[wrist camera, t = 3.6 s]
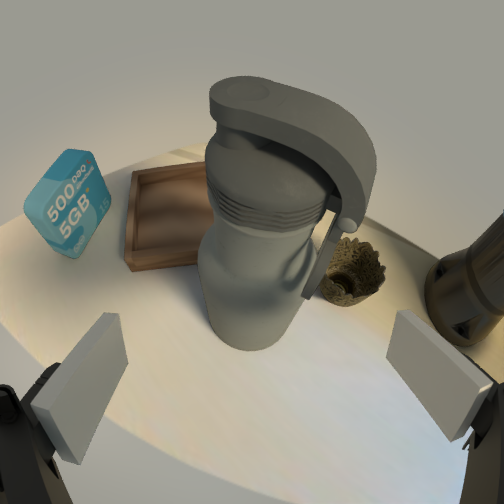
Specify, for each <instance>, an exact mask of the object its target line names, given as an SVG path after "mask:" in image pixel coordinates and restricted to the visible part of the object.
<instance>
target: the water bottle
mask: <svg viewBox="0 0 504 504" xmlns="http://www.w3.org/2000/svg"><path fill="white" fill-rule="evenodd" d="M209 99H210V114H211V116H212V118H213V119H214V120H215V121H216V122H217V128H216V129H217V130H216V133H215V134H214V136H213V137H212V138H211V139H210V141H209V143H208V145H207V147H206V151H205V169H206V180H207V187H208V188H207V194H208V199H209V203H210V205H211V207H212V209H213V214H214V223H213V224H212V225H211V227H210V228H209V229H208V230H207V231H206V233H205V235H204V237H203V239H202V241H201V244H200V247H199V250H198V271H199V277H200V281H201V285H202V290H203V294H204V298H205V302H206V307H207V311H208V315H209V319H210V323H211V325H212V328H213V330H214V332H215V333H216V334H217V336H218V337H219V338H220V339H221V340H222V341H223V342H224V343H226V344H227V345H229V346H231V347H233V348H236V349H238V350H243V351H257V350H262V349H265V348H267V347H269V346H271V345H273V344H274V343H276V342H277V341H278V340H279V339H280V338H281V337H282V336H283V334H284V333H285V331H286V329H287V328H288V326H289V325H290V323H291V321H292V320H293V318H294V316H295V315H296V313H297V311H298V310H299V308H300V306H301V305H302V303H303V301H304V300H305V299H307V300H309V299H310V298H311V296H312V295H313V293H314V291H315V290H316V288H317V287H318V285H319V283H320V282H321V280H322V278H323V276H324V274H325V272H326V270H327V268H328V266H329V264H330V261H331V259H332V256H333V254H334V251H335V248H336V246H337V243H338V241H339V240H340V238H341V236H342V234H343V232H346V233H354V232H356V231H357V229H358V227H359V226H360V224H361V222H362V220H363V218H364V215H365V213H366V209H367V205H368V202H369V198H370V194H371V190H372V186H373V183H374V178H375V174H376V154H375V150H374V147H373V143H372V141H371V139H370V138H369V136H368V134H367V132H366V130H365V129H364V127H363V126H362V125H361V124H360V123H359V122H358V120H357V119H356V118H355V117H354V116H353V115H352V114H350V113H349V112H348V111H346V110H345V109H344V108H342V107H341V106H340V105H338V104H336V103H334V102H332V101H330V100H328V99H326V98H324V97H321V96H318V95H315V94H313V93H310V92H307V91H304V90H300V89H297V88H294V87H291V86H287V85H284V84H280V83H276V82H273V81H271V80H268V79H264V78H260V77H253V76H237V77H230V78H226V79H223V80H221V81H219V82H217V83H215V84H214V85H213V86H212V87H211V88H210V92H209ZM326 209H328V210H330V211H332V212H334V213H336V214H335V216H334V219H333V221H332V223H331V225H330V227H329V230H328V232H327V234H326V236H325V239H324V241H323V243H322V246H321V248H320V251H319V253H318V256H317V254H316V249H315V246H314V244H313V241H312V239H311V238H310V237H311V235H312V232H313V230H314V227H315V225H316V224H317V223H318V222H319V221H320V220H321V219H322V217H323V215H324V214H325V212H326Z"/></svg>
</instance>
